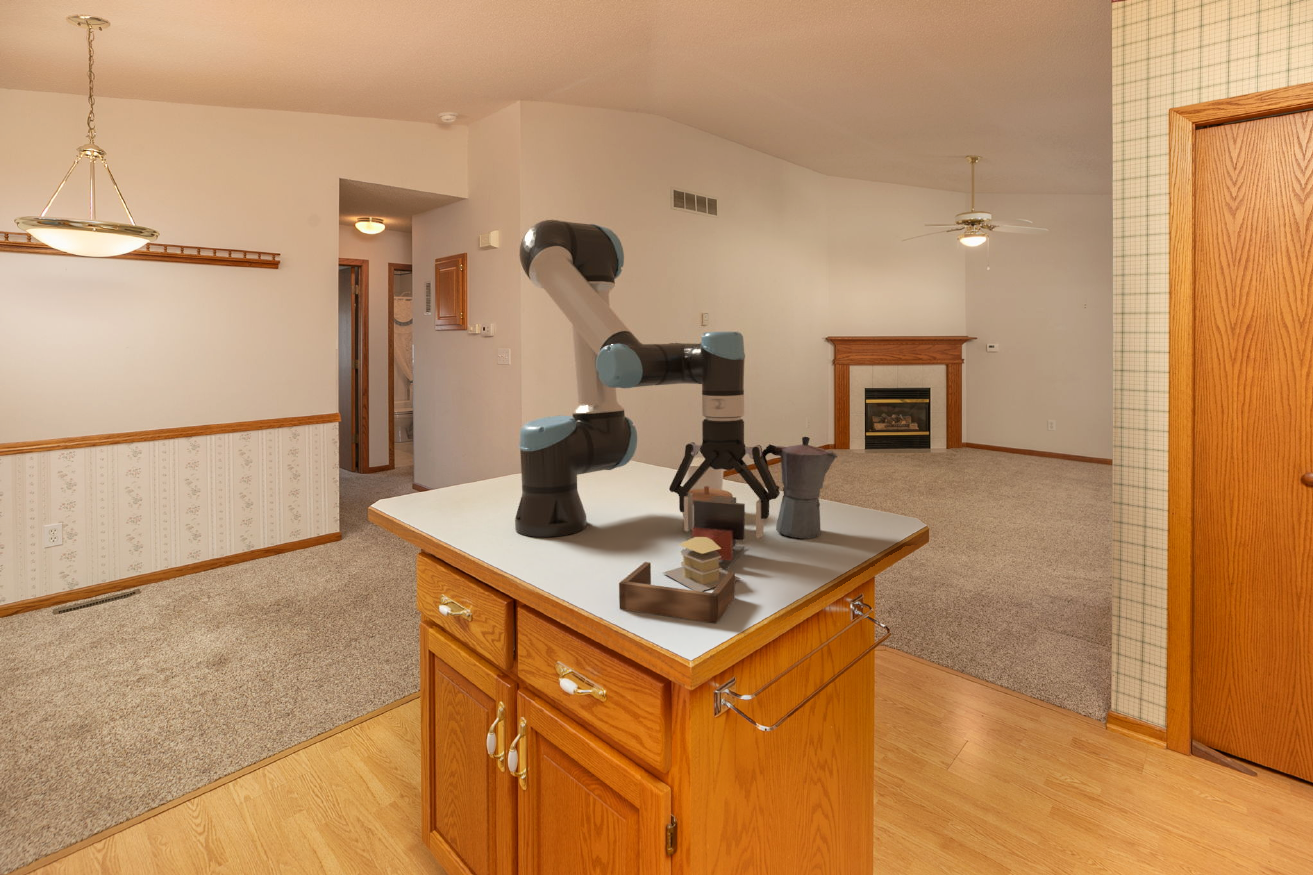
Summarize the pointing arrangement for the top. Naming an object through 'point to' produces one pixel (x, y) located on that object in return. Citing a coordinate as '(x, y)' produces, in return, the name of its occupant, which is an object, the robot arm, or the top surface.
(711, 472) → the candle holder
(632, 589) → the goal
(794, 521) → the moka pot
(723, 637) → the top surface
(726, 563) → the grey flat block
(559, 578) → the top surface
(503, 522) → the top surface
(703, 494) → the lidded jar
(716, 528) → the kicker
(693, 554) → the stacked layers on plate
